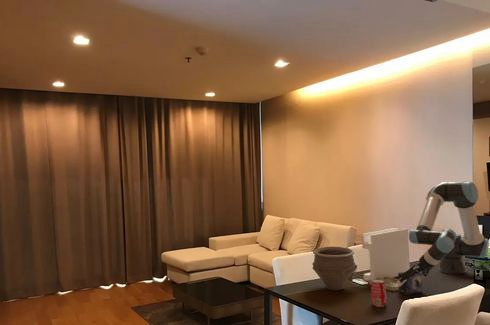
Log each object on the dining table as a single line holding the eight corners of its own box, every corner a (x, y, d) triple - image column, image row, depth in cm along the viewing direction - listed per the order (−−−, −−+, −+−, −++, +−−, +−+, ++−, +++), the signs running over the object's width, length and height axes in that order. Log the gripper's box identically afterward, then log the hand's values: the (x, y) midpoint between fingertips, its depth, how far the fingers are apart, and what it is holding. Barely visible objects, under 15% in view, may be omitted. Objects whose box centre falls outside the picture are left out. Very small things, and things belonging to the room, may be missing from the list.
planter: (358, 283, 238) (356, 246, 239) (358, 296, 215) (356, 254, 215) (315, 282, 245) (314, 245, 245) (310, 293, 221) (309, 253, 222)
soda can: (383, 302, 203) (382, 278, 203) (389, 307, 196) (387, 282, 196) (369, 303, 202) (368, 279, 203) (374, 308, 195) (373, 283, 196)
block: (374, 282, 239) (372, 235, 239) (363, 280, 245) (361, 233, 246) (410, 272, 258) (407, 228, 259) (398, 270, 265) (396, 227, 266)
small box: (405, 295, 213) (405, 275, 213) (398, 292, 219) (397, 272, 219) (422, 293, 216) (422, 273, 216) (414, 289, 222) (413, 270, 222)
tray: (385, 280, 242) (385, 276, 242) (411, 287, 227) (410, 282, 227) (368, 284, 236) (368, 280, 236) (393, 291, 220) (393, 287, 220)
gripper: (418, 269, 198) (395, 292, 211) (450, 262, 210) (426, 284, 223) (408, 256, 203) (386, 280, 216) (440, 250, 215) (417, 273, 228)
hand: (406, 282), depth 219 cm, fingers open, 13 cm apart
